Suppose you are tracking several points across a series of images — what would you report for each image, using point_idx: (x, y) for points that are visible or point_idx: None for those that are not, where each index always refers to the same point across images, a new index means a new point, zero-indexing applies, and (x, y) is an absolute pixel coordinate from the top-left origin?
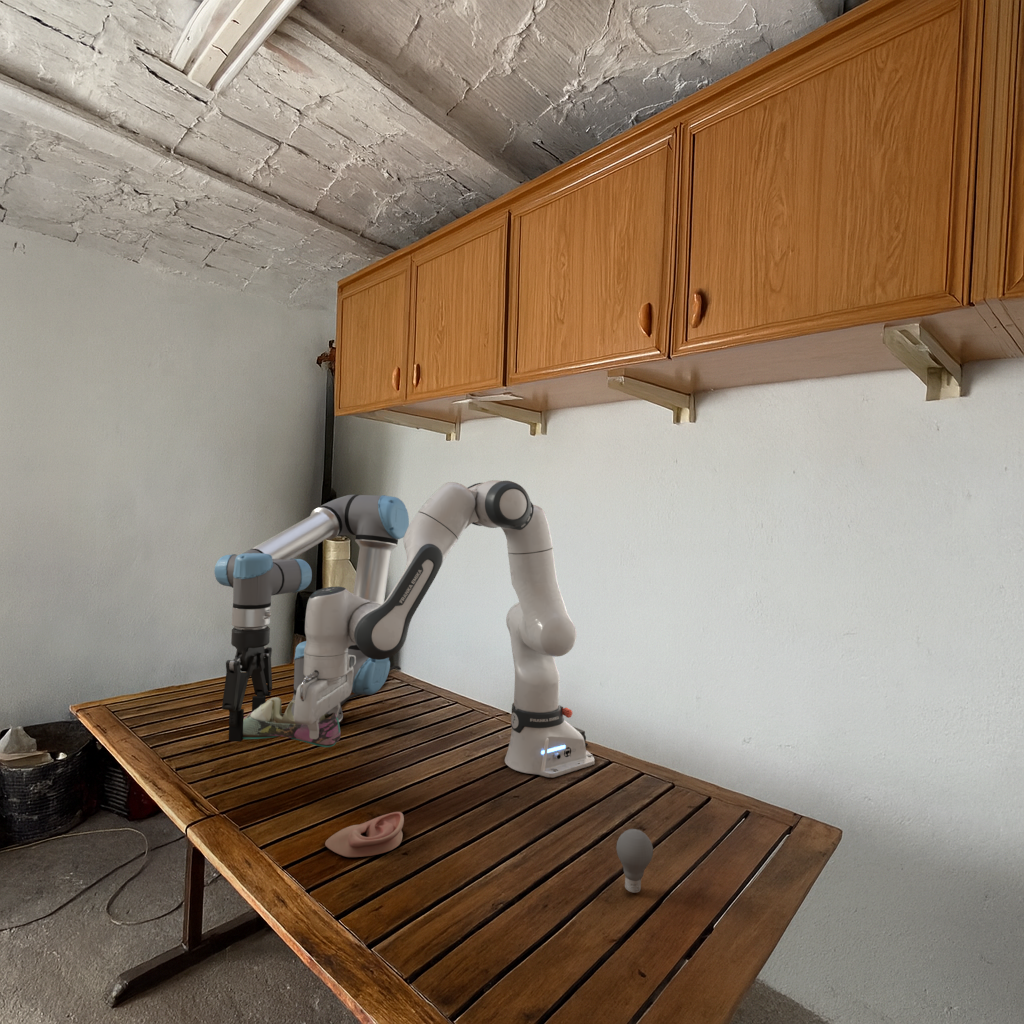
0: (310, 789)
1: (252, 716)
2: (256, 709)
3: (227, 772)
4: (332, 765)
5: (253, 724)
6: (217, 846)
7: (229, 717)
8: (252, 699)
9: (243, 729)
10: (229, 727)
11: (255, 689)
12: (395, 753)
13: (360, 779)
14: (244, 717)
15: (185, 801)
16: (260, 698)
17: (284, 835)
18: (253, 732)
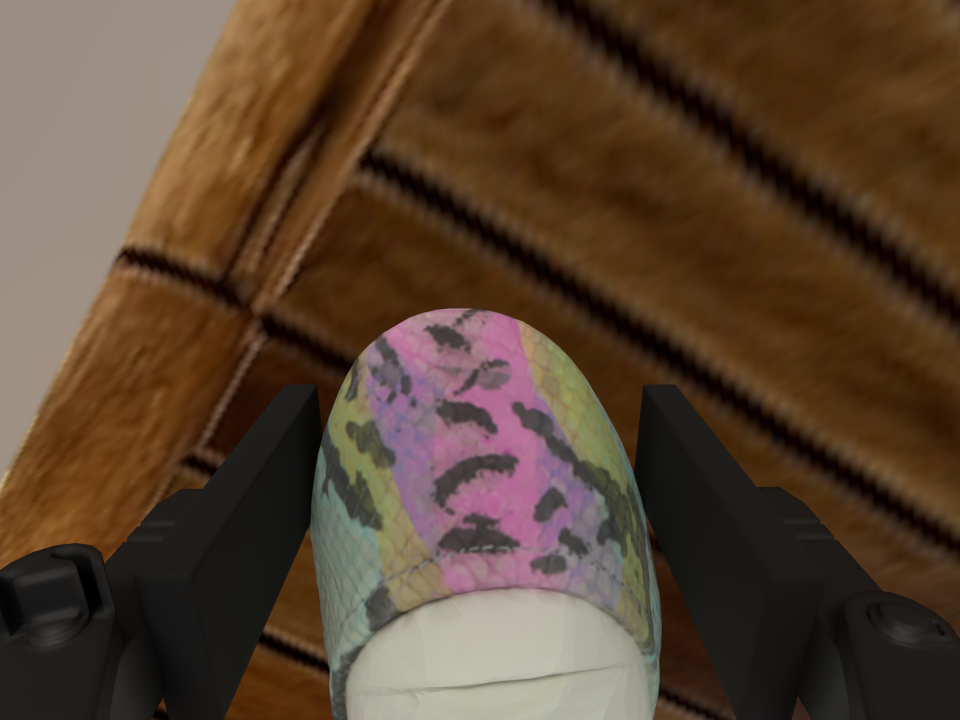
0: None
1: (368, 660)
2: (480, 681)
3: (665, 85)
4: None
5: (329, 646)
6: (56, 448)
7: (113, 559)
8: (748, 553)
9: (318, 533)
10: (242, 444)
11: (854, 716)
12: None
13: (677, 669)
14: (453, 503)
15: (298, 81)
16: (745, 672)
17: None
18: (321, 610)
